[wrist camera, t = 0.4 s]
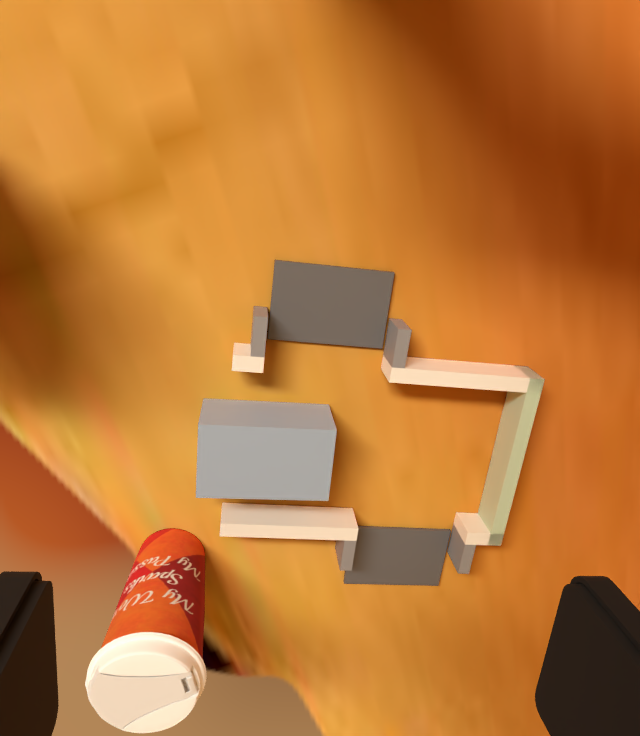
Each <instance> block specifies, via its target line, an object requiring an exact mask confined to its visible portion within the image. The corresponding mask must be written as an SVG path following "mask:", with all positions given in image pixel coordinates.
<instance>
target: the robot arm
mask: <svg viewBox="0 0 640 736" xmlns="http://www.w3.org/2000/svg"><path fill="white" fill-rule="evenodd" d="M535 701H536V707H537V710H538V713H539V715H540V717H541V719H542V721H543V723H544V724H545V726H546V728H547V730H548V732H549V734H550V735H551V736H640V611H639V610H638V609H637V608H636V607H635V606H634V605H633V604H632V603H631V601H630V600H629V599H628V598H627V597H626V596H625V595H624V594H623V593H622V591H621V590H620V589H619V588H618V587H617V586H616V585H615V584H614V583H613V581H611V580H610V579H609V578H607V577H604V576H577V577H574V578H573V579H572V580H571V583H570V584H567V585H566V586H565V587H564V589H563V591H562V595H561V599H560V602H559V606H558V610H557V614H556V617H555V621H554V625H553V628H552V632H551V636H550V640H549V643H548V647H547V651H546V655H545V658H544V662H543V666H542V669H541V673H540V677H539V681H538V684H537V688H536V693H535ZM57 713H58V685H57V665H56V644H55V625H54V604H53V587H52V583H51V581H42V577H41V574H40V573H39V572H3V573H1V574H0V736H51V735H52V732H53V729H54V726H55V723H56V718H57Z"/></svg>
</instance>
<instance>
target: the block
mask: <svg viewBox="0 0 640 736" xmlns="http://www.w3.org/2000/svg"><path fill="white" fill-rule="evenodd" d="M336 434H337V429H336V426H335V423H334V420H333V416H332V413H331V410H330V407H329V404H308V403H287V402H267V401H246V400H225V399H203V404H202V409H201V414H200V418H199V423H198V448H197V479H196V498H229V499H270V500H310V501H329V492H330V484H331V475H332V467H333V459H334V450H335V442H336Z"/></svg>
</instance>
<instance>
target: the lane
mask: <svg viewBox="0 0 640 736" xmlns="http://www.w3.org/2000/svg"><path fill="white" fill-rule="evenodd" d="M393 279H394V272H388V271H378V270H368V269H358V268H349V267H339V266H329V265H320V264H310V263H300V262H291V261H281V260H275V265H274V276H273V286H272V297H271V308H270V318H269V329H268V339H273V340H285V341H297V342H309V343H321V344H333V345H345V346H357V347H369V348H381V349H382V347H383V341H384V334H385V328H386V322H387V316H388V310H389V304H390V298H391V291H392V285H393ZM267 325H268V310H267V307H259V306H254V311H253V323H252V335H251V344H244V343H234V351H233V363H232V371H242V372H256V373H263V368H264V357H265V346H266V336H267ZM411 331H412V330H411V329H410V328H409V327H408V326H407V325H406V324H405V322H404V321H403V320H402V319H391V318H389V323H388V329H387V335H386V341H385V348H384V354H383V360H382V366H381V370H382V371H383V373H384V375H385V376H386V378H387V380H388V381H389V382H390V383H403V384H417V385H430V386H443V387H457V388H470V389H484V390H497V391H507V395H506V400H505V404H504V408H503V412H502V416H501V420H500V424H499V428H498V432H497V437H496V441H495V445H494V449H493V453H492V457H491V461H490V465H489V470H488V474H487V478H486V482H485V486H484V490H483V494H482V498H481V502H480V507H479V511H478V513H457V512H456V516H455V520H454V524H453V529H452V533H451V537H450V532H451V531H450V529H426V528H400V527H373V526H358V525H357V522H356V518H355V515H354V511H353V508H338V507H314V506H290V505H267V504H243V503H222V513H221V524H220V536H227V537H256V538H286V539H316V540H336V546H335V549H336V554H337V559H338V563H339V568H340V570H345V575H344V584H388V585H432V586H438V585H439V581H440V576H441V572H442V568H443V563H444V559H445V554H446V550H447V546H448V541H449V537H450V542H449V546H448V551H447V552H448V554H449V556H450V558H451V560H452V562H453V564H454V566H455V568H456V570H457V572H458V573H462V574H469V572H470V568H471V564H472V560H473V556H474V552H475V548H476V545H494V546H501V543H502V539H503V536H504V532H505V528H506V524H507V521H508V517H509V513H510V509H511V505H512V502H513V498H514V494H515V490H516V486H517V483H518V479H519V475H520V471H521V467H522V464H523V460H524V456H525V452H526V448H527V445H528V441H529V437H530V433H531V429H532V426H533V422H534V418H535V414H536V410H537V407H538V403H539V399H540V395H541V392H542V388H543V384H544V380H545V379H543V378H542V377H541V376H539V375H538V374H537V373H535V372H534V371H533V370H531V369H530V368H529V367H526V366H514V365H502V364H490V363H477V362H465V361H453V360H441V359H428V358H416V357H407V353H408V348H409V342H410V336H411Z"/></svg>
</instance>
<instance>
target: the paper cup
mask: <svg viewBox="0 0 640 736" xmlns="http://www.w3.org/2000/svg"><path fill="white" fill-rule="evenodd" d="M204 614H205V553H204V548H203V546H202V544H201V542H200V541H199V539H198V538H197V537H196V536H194V535H193V534H191V533H190V532H187V531H185V530H181V529H175V528H170V529H163V530H160V531H157V532H155V533H153V534H152V535H150V536H149V537H148V538H147V539H146V540H145V541H144V543H143V544H142V546H141V548H140V550H139V553H138V555H137V557H136V560H135V562H134V565H133V567H132V570H131V572H130V575H129V577H128V580H127V582H126V585H125V587H124V590H123V592H122V595H121V598H120V600H119V603H118V605H117V608H116V611H115V613H114V616H113V618H112V621H111V624H110V626H109V629H108V631H107V634H106V636H105V639H104V642H103V644H102V647H101V649H100V650H99V651H98V652H97V653H96V654H95V656H94V657H93V659H92V661H91V662H90V665H89V668H88V672H87V678H86V683H85V686H86V690H87V695H88V698H89V701H90V703H91V705H92V706H93V707H94V709H95V710H96V712H97V713H98V715H99V716H100V717H101V718H102V719H103V720H104V721H106V722H107V723H109V724H111V725H113V726H115V727H117V728H119V729H121V730H123V731H128V732H133V733H151V732H157V731H161V730H164V729H167V728H169V727H172V726H174V725H176V724H177V723H179V722H180V721H182V720H183V719H184V718H185V717H186V716H187V715H188V714H189V713H190V712H191V710H192V709H193V707H194V706H195V704H196V701H197V699H198V698H199V697H200V695H201V694H202V692H203V690H204V688H205V683H206V667H205V664H204V662H203V659H202V658H203V632H204Z"/></svg>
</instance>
